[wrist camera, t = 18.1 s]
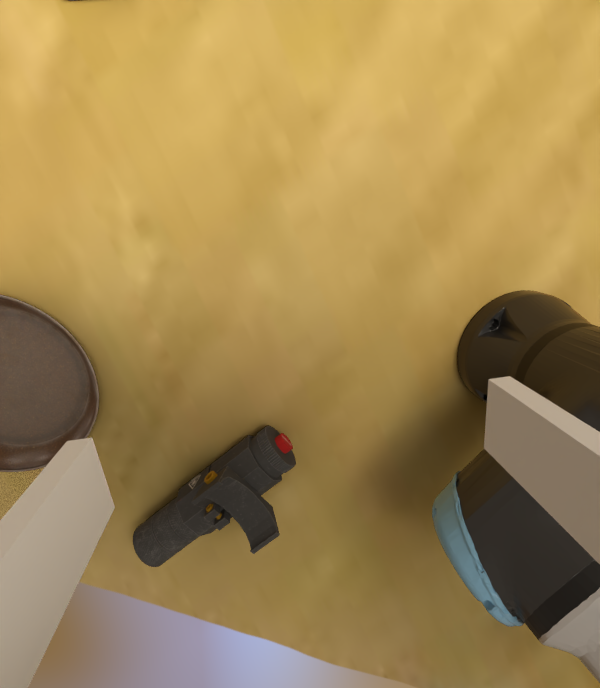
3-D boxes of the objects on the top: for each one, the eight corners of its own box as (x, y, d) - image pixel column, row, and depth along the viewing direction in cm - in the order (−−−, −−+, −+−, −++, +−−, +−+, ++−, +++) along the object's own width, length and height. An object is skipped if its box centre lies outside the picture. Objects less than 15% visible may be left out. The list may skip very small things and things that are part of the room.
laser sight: (129, 505, 50) (100, 572, 40) (260, 402, 47) (261, 448, 38) (182, 545, 53) (166, 617, 43) (308, 451, 50) (320, 505, 41)
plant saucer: (-127, 393, 42) (-158, 407, 39) (-35, 244, 38) (-61, 247, 35) (50, 483, 48) (36, 502, 45) (145, 362, 44) (136, 373, 41)
